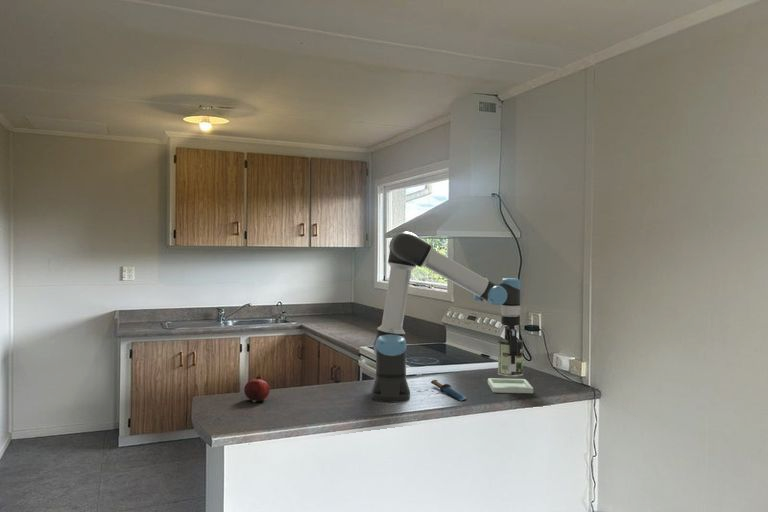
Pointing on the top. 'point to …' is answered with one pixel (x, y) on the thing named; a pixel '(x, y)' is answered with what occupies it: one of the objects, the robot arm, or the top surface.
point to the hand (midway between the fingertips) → (510, 368)
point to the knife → (449, 390)
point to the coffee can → (504, 358)
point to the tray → (510, 385)
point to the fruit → (256, 389)
